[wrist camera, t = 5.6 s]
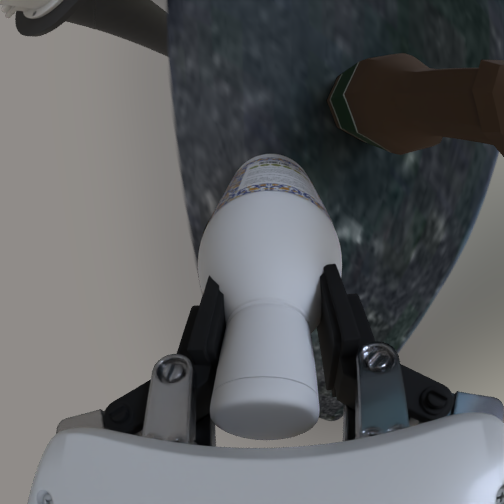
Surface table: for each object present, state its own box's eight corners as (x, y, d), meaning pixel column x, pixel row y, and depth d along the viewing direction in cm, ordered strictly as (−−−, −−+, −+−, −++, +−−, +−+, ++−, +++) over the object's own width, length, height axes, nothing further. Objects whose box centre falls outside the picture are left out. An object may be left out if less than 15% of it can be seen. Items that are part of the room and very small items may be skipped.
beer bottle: (357, 61, 22) (501, -18, 1) (401, 113, 24) (579, 153, 3) (308, 100, 25) (388, 52, 4) (355, 152, 27) (497, 259, 7)
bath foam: (221, 164, 22) (81, 347, 5) (300, 144, 21) (418, 301, 4) (244, 234, 26) (198, 457, 8) (316, 218, 24) (381, 441, 7)
